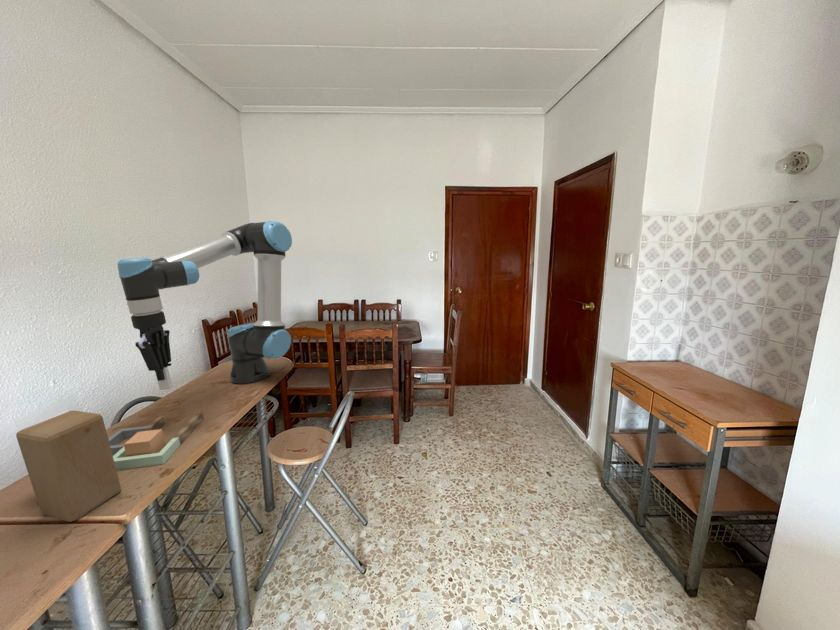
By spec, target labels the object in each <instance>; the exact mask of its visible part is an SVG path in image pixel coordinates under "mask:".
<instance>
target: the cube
mask: <svg viewBox="0 0 840 630" xmlns="http://www.w3.org/2000/svg"><path fill="white" fill-rule="evenodd" d="M165 440H166V439H165V435H164V431H163V428H159V429H158V430H150V431H141V432H137V433H136V434H135V435H134V436H133V437H132V438H128V440H127V441H125V442H124V443H123V444H124V448H125V452H126V456H127V457H129V456H137V455H145V454H153V453H159V452H160V451H161V450H162V449H163V448H164V447H165V446H166V445H167V444H166V441H165Z"/></svg>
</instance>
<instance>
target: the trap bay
mask: <svg viewBox="0 0 840 630" xmlns="http://www.w3.org/2000/svg"><path fill="white" fill-rule="evenodd" d="M147 426H148V425H145V426H138V427H137V426H136V427H127V428H120V429H118V430H117V431H116V432H115V433H113V434H112V435H111V436H110V437H108V440H109V444H110V448H111V452H112V455H113V456H114V455H115V454H116V453H117V452H118V451H119V450H121V449H122V448H123V447H124V444H125V443H122V444H120V443H121V442H123V440H125V439H130V438H132V437H133V436H134V435H135V434H136V433H137V432H141V431H145V428H146V427H147Z"/></svg>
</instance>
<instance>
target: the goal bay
mask: <svg viewBox="0 0 840 630" xmlns="http://www.w3.org/2000/svg"><path fill="white" fill-rule="evenodd" d="M180 446H181V445H180V441H179V437H177V438H173V437H172V438H171V440H169V442H167V444H166V446H165V447H164V448H163V449H162V450H161V451H160V452H159V453H153V454H145V455H137V456H129V457H127V456H126V452H125V448H124V447H123V448H122V449H121V450H119V451H118V452H117V453H116V454H115V455H114V456H113V459H114V463H115V467H116V471H119V470H126V469H127V470H128V469H135V468H142V467H150V466H157V465H164V464H165V463H166V462H167V461H168V460H169V459H170V458H171V457H172V455H173V454H175V452H176V451H177V450H178V448H179V447H180Z"/></svg>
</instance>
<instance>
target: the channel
mask: <svg viewBox="0 0 840 630" xmlns="http://www.w3.org/2000/svg"><path fill="white" fill-rule="evenodd" d="M203 420H204V414H203V412H202V411H201V412H199V411H198V412H195V414H194V415H193V416H192V417H191V419H190V420H188V422H186V423H185V425H184V426H183V427H182V428H180V430H179V431H178V432H177V433H176V434H175V435H174V436H173V437H172V438H177V437H179V441H180V446H181V445H182V444H183V443H184V442H185V441H186V439H187V438H188V437H189V436H190V435H191V434H192V433H193V432H194V431H195V429H196V428H197V427H198V426H199V425H200V423H201V422H203ZM165 424H166V423H165V418H164V416H158V417H156V418H155V419H154V420H153V421H152V422H150V423H149V424H148V425H146V426H147V427H146V428H145V431H150V430H158V429H161V428H162V427H163V426H164V425H165Z"/></svg>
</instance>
